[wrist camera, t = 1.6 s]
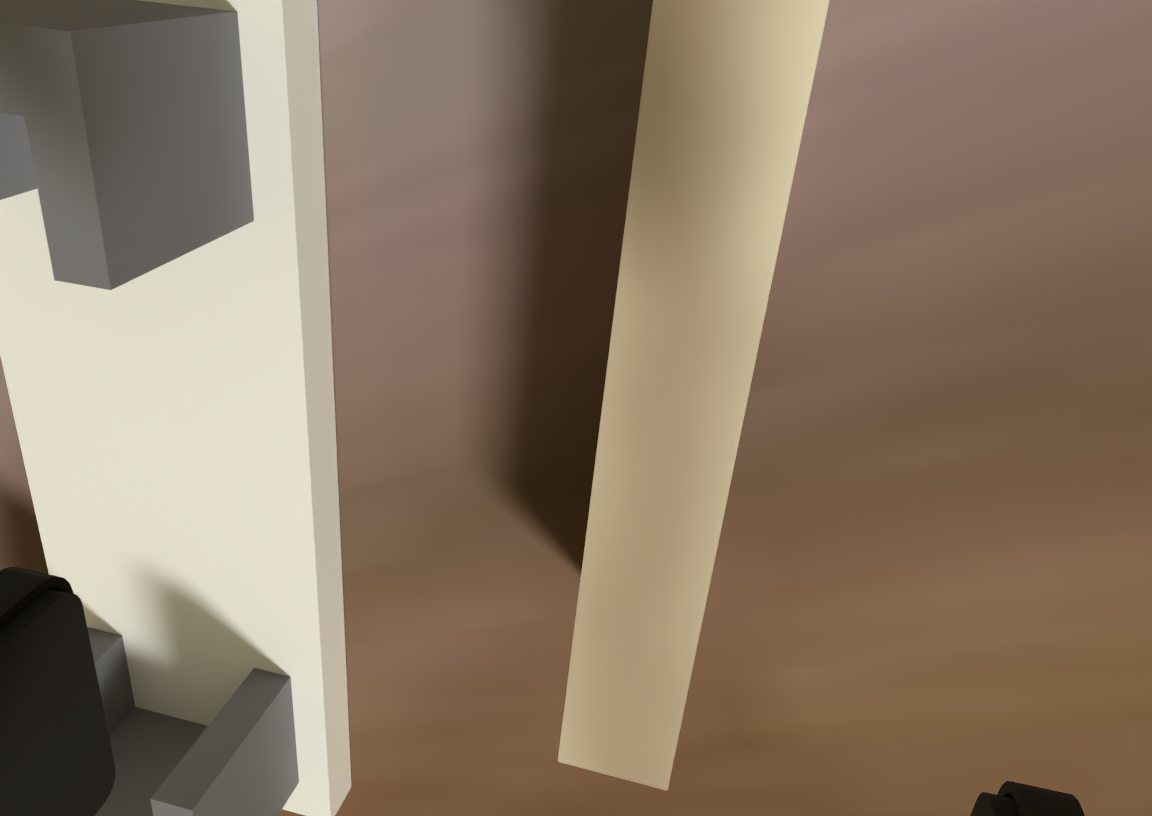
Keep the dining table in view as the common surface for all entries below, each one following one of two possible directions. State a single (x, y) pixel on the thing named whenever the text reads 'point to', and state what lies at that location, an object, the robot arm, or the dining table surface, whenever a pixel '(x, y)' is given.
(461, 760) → the dining table surface
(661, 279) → the slat
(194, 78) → the end cap board
